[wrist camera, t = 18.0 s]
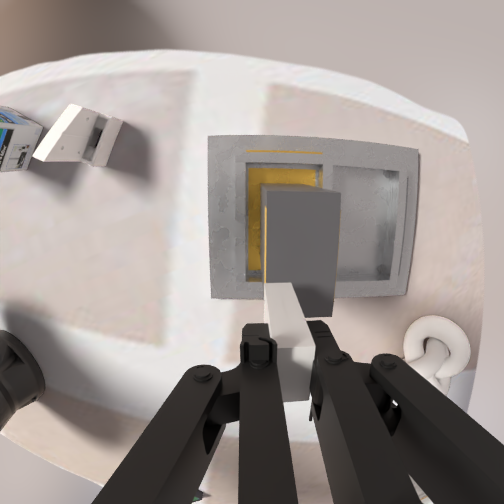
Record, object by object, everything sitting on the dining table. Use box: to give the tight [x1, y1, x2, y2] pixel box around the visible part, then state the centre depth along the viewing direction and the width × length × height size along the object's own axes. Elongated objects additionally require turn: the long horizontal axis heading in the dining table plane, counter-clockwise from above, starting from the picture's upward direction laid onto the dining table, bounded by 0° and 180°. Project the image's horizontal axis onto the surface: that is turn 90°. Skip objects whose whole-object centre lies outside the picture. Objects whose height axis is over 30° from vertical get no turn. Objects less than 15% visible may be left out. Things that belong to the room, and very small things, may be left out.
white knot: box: [402, 315, 471, 396], centre depth 33 cm, size 11×12×9 cm
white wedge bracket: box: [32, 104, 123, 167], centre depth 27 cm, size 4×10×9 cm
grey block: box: [260, 183, 341, 318], centre depth 25 cm, size 4×8×14 cm, turn 0°
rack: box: [208, 135, 418, 299], centre depth 31 cm, size 24×18×4 cm
